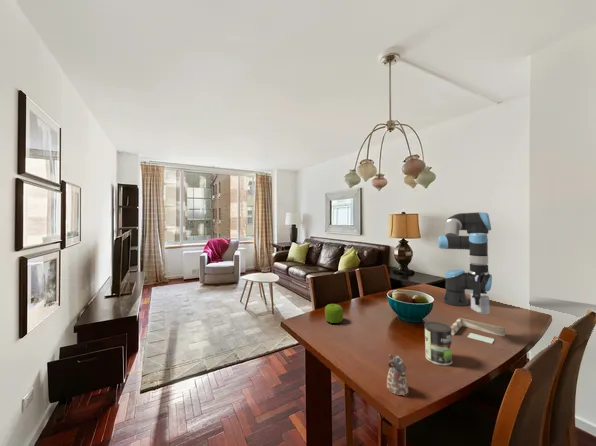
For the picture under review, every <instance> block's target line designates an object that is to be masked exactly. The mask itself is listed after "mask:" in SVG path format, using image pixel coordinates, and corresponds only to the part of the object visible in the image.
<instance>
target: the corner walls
mask: <svg viewBox="0 0 596 446" xmlns="http://www.w3.org/2000/svg"><path fill="white" fill-rule="evenodd" d="M450 327H451V329H452V331H451V336H455V335H456V334H457V332H458V331H459V330H460V329H461V328H462V327H464V328H469V329H473V330H476V331H480V332H484V333H488V334H492V335H496V336H501V337H505V336H506V333H505V332H506V328H505V327H502V326H499V325H493V324H491V323H485V322H482V321H476V320H473V319H467V318H463V317H458V318H457V319H456V321H454V322H453V323H452V324H451V326H450Z"/></svg>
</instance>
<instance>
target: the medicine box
mask: <svg viewBox="0 0 596 446" xmlns="http://www.w3.org/2000/svg"><path fill="white" fill-rule="evenodd" d="M472 296H473V291H471V292H470V309H471V310H473V311H474V298H472ZM480 297H481V312H478V311H475V312H477V313H478V314H479V315H490V314H491V309H490V297H489V296H488V295H487V294H485V295H484V294H482V293H481V296H480Z"/></svg>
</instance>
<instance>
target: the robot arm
mask: <svg viewBox="0 0 596 446" xmlns="http://www.w3.org/2000/svg"><path fill="white" fill-rule="evenodd" d="M491 225H492V224H491V219H490V215H489V214H488V213H487V212H465V213H464V212H462V213H461V212H460V213H459V212H458V213H456V214H453V215H452V216H449V217H448V218H447V219H446V220H445V222H444V227H445V230H444V234H443V235H439V236H438V239H437V240H438V242H437V243H438V244H437V245H438V248H439V249H445V250H469V256H468V259H469V263H470V264H469V269H468V270H467V272H465V270H463V269H449V270H447V271H446V272H445V292H444V295H443V297H442V301H443V302H444V303H445V304H447V305H450V306H457V307H465V306H466V307H467V306H469V299H468V297H467V295H466V290H467V291H468V290H469V291H472V292H473V296H472V298H474V310H473V311H474V312H476V311H478V312H481V297H480V296H481V293H482V294H484V295H488V294H487V293H488V292H489V291H491V287H492V283H493V282H492V281H493V276H492V274H490V271H489V265H488V264H489V254H488V250H489V247H488V245H489V243H488V241H489V239H488V234H489V231H492V226H491ZM460 231H466V233H467V235H460ZM478 312H477V313H478Z"/></svg>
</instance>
